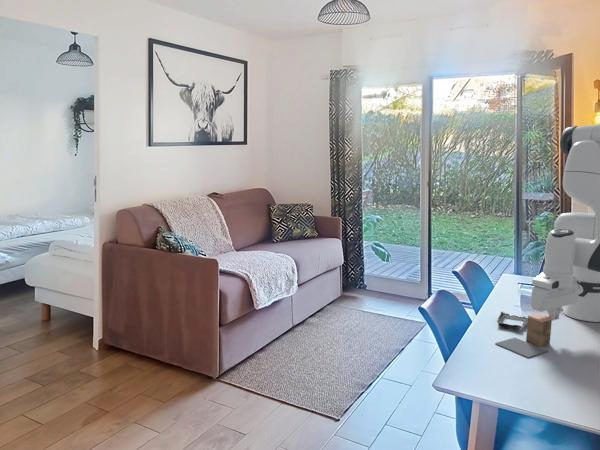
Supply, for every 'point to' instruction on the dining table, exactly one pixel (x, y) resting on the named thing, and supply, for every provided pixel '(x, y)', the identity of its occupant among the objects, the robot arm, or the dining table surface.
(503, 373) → the dining table surface
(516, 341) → the charcoal mat
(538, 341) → the brown rectangular block
